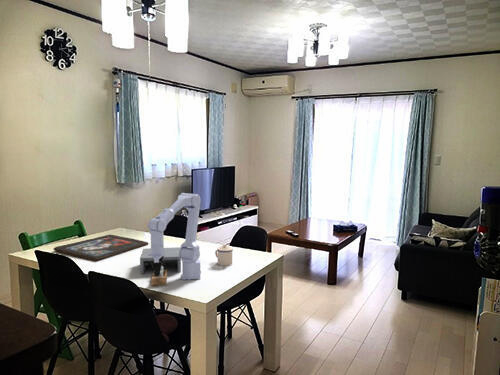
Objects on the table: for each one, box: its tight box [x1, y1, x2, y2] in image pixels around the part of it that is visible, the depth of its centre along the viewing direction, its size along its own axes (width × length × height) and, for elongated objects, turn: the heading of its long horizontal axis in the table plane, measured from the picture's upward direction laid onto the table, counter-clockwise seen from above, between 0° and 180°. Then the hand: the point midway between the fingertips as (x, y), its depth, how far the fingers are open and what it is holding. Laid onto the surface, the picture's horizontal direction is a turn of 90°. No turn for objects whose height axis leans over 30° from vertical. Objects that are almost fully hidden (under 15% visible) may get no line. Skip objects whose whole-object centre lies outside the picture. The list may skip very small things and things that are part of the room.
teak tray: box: [150, 265, 168, 287], centre depth 186 cm, size 7×16×6 cm, turn 11°
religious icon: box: [52, 234, 149, 262], centre depth 241 cm, size 40×45×3 cm
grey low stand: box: [139, 246, 182, 275], centre depth 204 cm, size 21×18×9 cm
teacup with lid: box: [214, 243, 233, 267], centre depth 214 cm, size 12×9×12 cm
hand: (157, 272), depth 170 cm, fingers open, 7 cm apart
